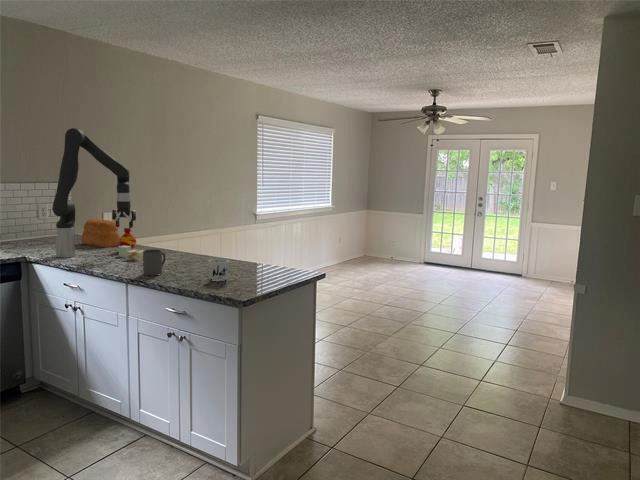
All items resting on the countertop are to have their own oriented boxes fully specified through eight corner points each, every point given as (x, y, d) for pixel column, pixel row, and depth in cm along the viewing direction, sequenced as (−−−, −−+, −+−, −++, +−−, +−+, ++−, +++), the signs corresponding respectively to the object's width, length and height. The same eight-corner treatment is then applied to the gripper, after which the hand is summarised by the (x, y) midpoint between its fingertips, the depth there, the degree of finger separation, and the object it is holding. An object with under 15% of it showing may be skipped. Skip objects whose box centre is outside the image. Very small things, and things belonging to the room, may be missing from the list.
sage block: (119, 256, 295) (118, 246, 294) (123, 255, 300) (123, 245, 299) (126, 257, 294) (126, 247, 293) (131, 255, 299) (131, 246, 298)
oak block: (126, 260, 286) (126, 251, 285) (134, 257, 294) (134, 249, 293) (139, 261, 284) (139, 252, 284) (146, 258, 292) (146, 250, 291)
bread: (102, 248, 321) (101, 222, 318) (79, 244, 334) (78, 218, 332) (123, 245, 334) (122, 220, 331) (99, 241, 347) (99, 217, 345)
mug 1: (153, 276, 246) (152, 253, 244) (139, 274, 250) (138, 251, 248) (172, 272, 258) (171, 249, 256) (158, 269, 262) (158, 247, 260)
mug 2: (210, 283, 236) (210, 263, 235) (204, 276, 250) (204, 257, 248) (231, 282, 240) (231, 261, 239) (225, 275, 254) (225, 256, 252)
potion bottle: (115, 252, 309) (114, 228, 307) (127, 249, 318) (127, 226, 316) (128, 253, 305) (127, 229, 303) (140, 251, 314) (139, 227, 312)
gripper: (108, 200, 289) (109, 227, 292) (130, 201, 287) (131, 228, 289) (116, 199, 297) (117, 226, 299) (137, 200, 294) (138, 227, 296)
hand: (124, 227), depth 294 cm, fingers open, 8 cm apart
